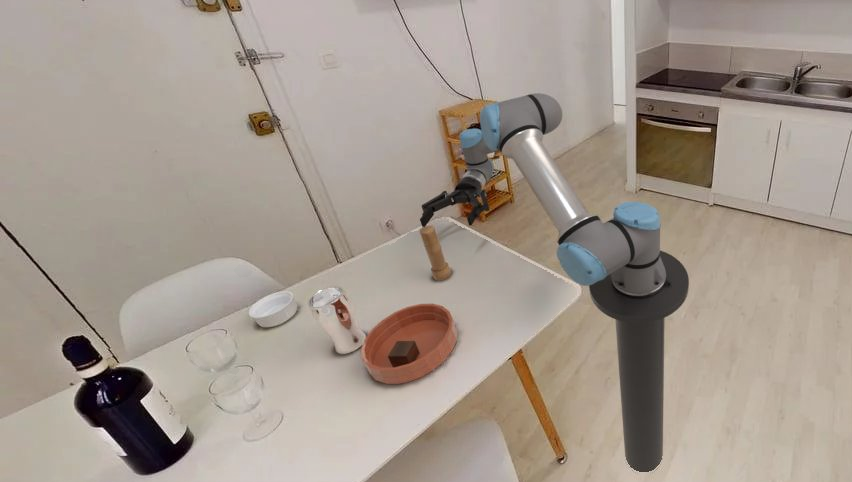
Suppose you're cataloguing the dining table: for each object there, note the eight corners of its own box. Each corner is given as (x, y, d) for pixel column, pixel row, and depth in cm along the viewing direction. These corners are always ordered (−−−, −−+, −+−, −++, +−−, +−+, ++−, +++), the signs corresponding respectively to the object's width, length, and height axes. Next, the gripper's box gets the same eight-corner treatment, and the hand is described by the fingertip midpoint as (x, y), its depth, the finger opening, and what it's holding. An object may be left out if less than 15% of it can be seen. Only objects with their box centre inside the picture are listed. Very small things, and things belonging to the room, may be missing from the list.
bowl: (468, 317, 102) (464, 302, 100) (437, 384, 86) (431, 369, 84) (395, 318, 102) (389, 304, 100) (351, 386, 86) (342, 371, 84)
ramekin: (260, 335, 98) (251, 323, 96) (253, 317, 104) (245, 304, 101) (304, 314, 104) (296, 302, 102) (296, 297, 109) (288, 285, 107)
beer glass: (337, 337, 97) (310, 290, 90) (370, 327, 100) (347, 281, 92) (330, 360, 92) (302, 312, 84) (366, 349, 94) (341, 302, 87)
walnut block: (419, 352, 92) (414, 340, 91) (411, 368, 89) (405, 355, 87) (402, 352, 92) (396, 340, 91) (393, 368, 89) (387, 356, 87)
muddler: (453, 269, 118) (439, 224, 110) (447, 280, 114) (431, 234, 106) (437, 269, 118) (422, 224, 110) (430, 280, 114) (414, 234, 106)
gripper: (509, 194, 139) (491, 231, 120) (436, 196, 138) (406, 234, 120) (505, 175, 135) (486, 210, 116) (430, 177, 135) (398, 212, 116)
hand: (445, 222), depth 118 cm, fingers open, 13 cm apart
